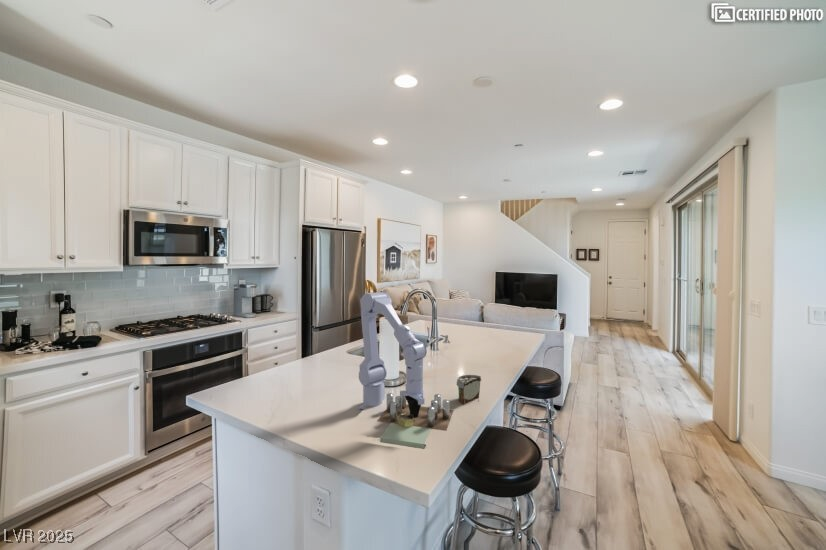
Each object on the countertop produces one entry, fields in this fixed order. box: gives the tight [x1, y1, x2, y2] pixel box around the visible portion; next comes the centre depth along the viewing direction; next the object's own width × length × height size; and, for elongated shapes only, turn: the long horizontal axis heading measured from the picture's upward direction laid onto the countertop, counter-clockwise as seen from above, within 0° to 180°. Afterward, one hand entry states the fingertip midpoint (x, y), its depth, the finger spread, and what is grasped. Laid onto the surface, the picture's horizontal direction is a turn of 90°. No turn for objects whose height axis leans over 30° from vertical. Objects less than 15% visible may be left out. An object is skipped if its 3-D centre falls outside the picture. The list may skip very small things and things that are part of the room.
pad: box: [379, 423, 432, 450], centre depth 112 cm, size 10×14×2 cm
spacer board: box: [376, 403, 454, 431], centre depth 124 cm, size 16×24×2 cm, turn 75°
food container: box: [456, 374, 482, 405], centre depth 140 cm, size 12×6×10 cm, turn 134°
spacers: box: [386, 389, 451, 427], centre depth 124 cm, size 13×23×6 cm, turn 75°
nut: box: [398, 413, 414, 428], centre depth 118 cm, size 6×5×3 cm
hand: (414, 417), depth 121 cm, fingers closed
